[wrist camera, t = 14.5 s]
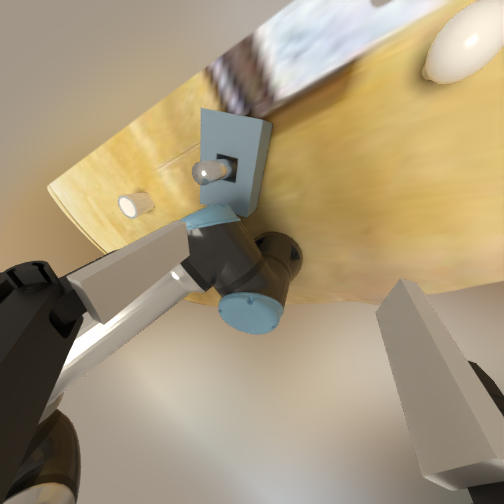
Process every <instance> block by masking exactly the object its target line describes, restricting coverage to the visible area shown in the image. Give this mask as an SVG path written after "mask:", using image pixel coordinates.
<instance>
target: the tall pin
mask: <svg viewBox="0 0 504 504" xmlns="http://www.w3.org/2000/svg"><path fill="white" fill-rule="evenodd" d="M237 166H238V158H234V157H232V158H225V159H218V160H211V161H204V162H197V163H195V164H194V166H193V168H192V175H193V178H194V180H195V181H196V182H197V183H198V184H200V185H207V184H210V183H213V182H216V181H219V180H222V179H225V178H228V177H231V176H234V175H236V174H237Z"/></svg>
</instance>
